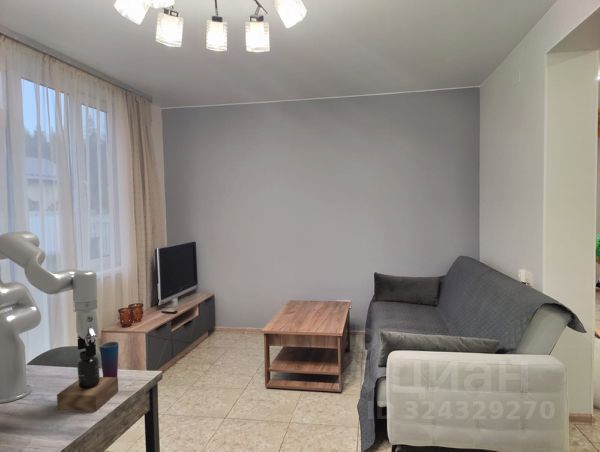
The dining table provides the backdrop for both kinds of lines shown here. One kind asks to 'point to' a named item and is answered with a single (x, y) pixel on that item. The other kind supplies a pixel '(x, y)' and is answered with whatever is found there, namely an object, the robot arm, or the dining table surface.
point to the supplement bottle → (88, 371)
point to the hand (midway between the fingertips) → (86, 352)
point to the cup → (109, 359)
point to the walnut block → (87, 395)
